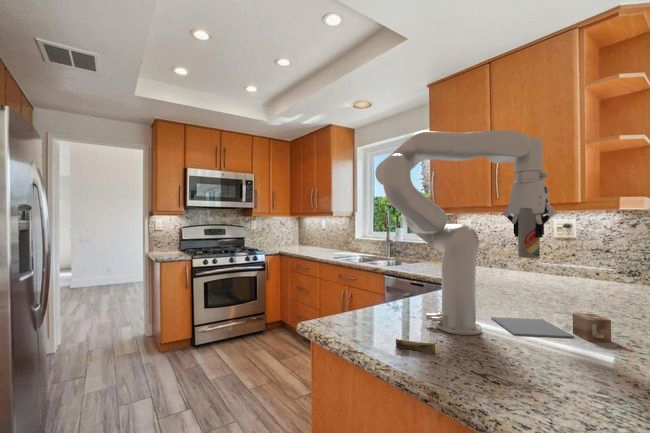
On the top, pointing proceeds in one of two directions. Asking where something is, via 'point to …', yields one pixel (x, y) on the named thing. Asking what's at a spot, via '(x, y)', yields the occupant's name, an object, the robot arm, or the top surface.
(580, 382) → the top surface
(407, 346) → the snack bar
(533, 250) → the lotion bottle
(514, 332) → the grey mat
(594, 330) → the letter cube
